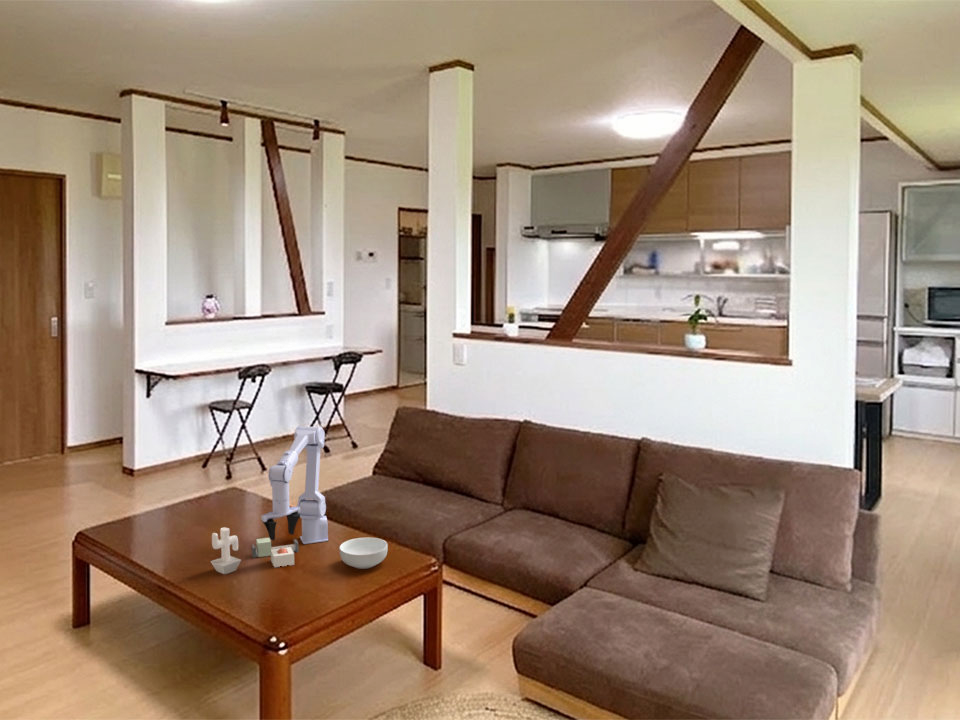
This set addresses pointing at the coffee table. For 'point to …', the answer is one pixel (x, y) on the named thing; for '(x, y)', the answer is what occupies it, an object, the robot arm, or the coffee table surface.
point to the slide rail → (293, 546)
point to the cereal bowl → (363, 552)
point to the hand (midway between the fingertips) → (281, 536)
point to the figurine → (225, 551)
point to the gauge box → (282, 557)
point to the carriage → (263, 547)
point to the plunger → (282, 551)
